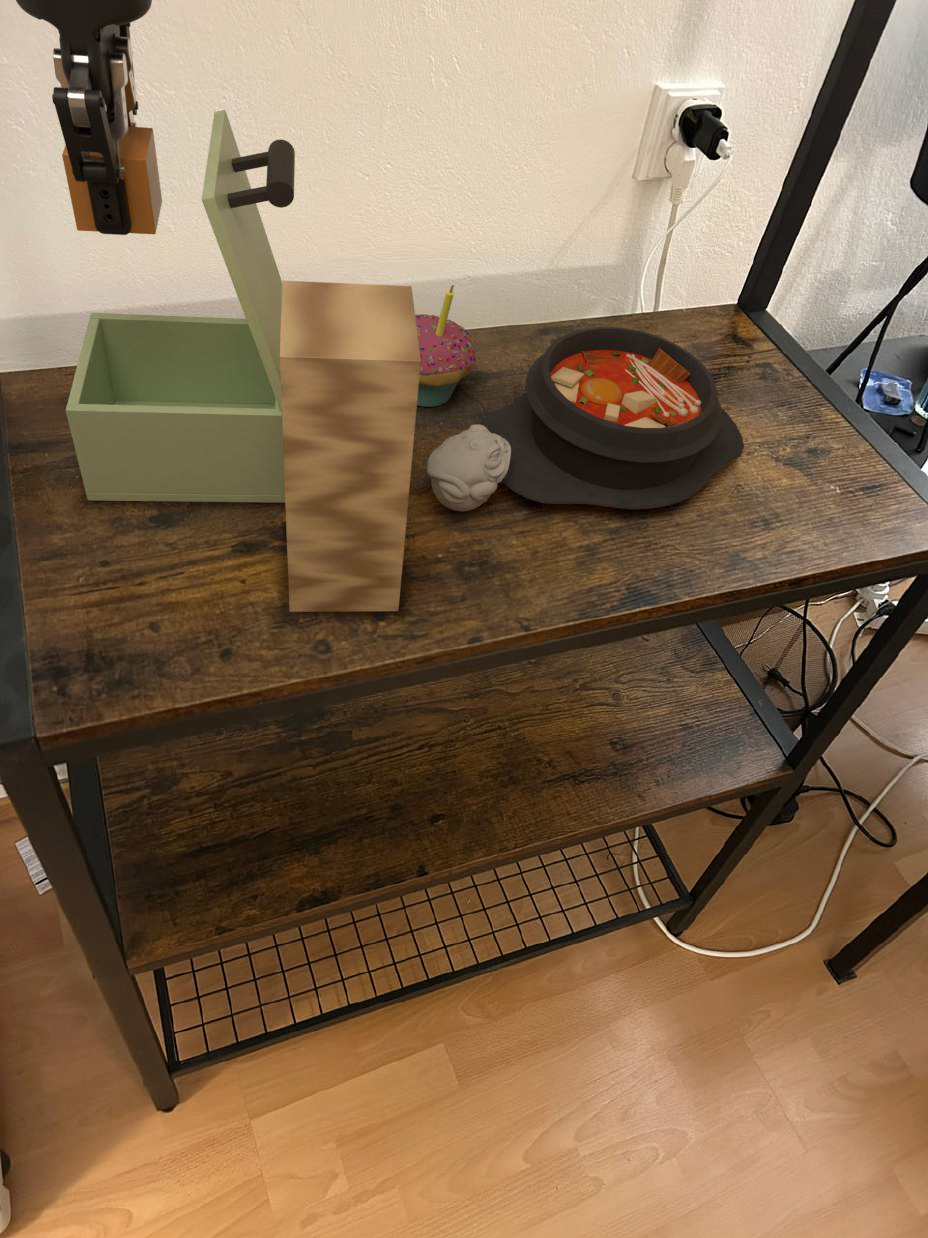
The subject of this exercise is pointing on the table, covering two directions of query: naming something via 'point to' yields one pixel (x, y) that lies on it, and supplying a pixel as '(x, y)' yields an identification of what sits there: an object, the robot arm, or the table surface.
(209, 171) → the lid
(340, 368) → the tall wooden pillar
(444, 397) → the cupcake
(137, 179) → the orange rectangular box
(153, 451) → the chest
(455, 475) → the frog figurine
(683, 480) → the casserole
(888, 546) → the table surface
